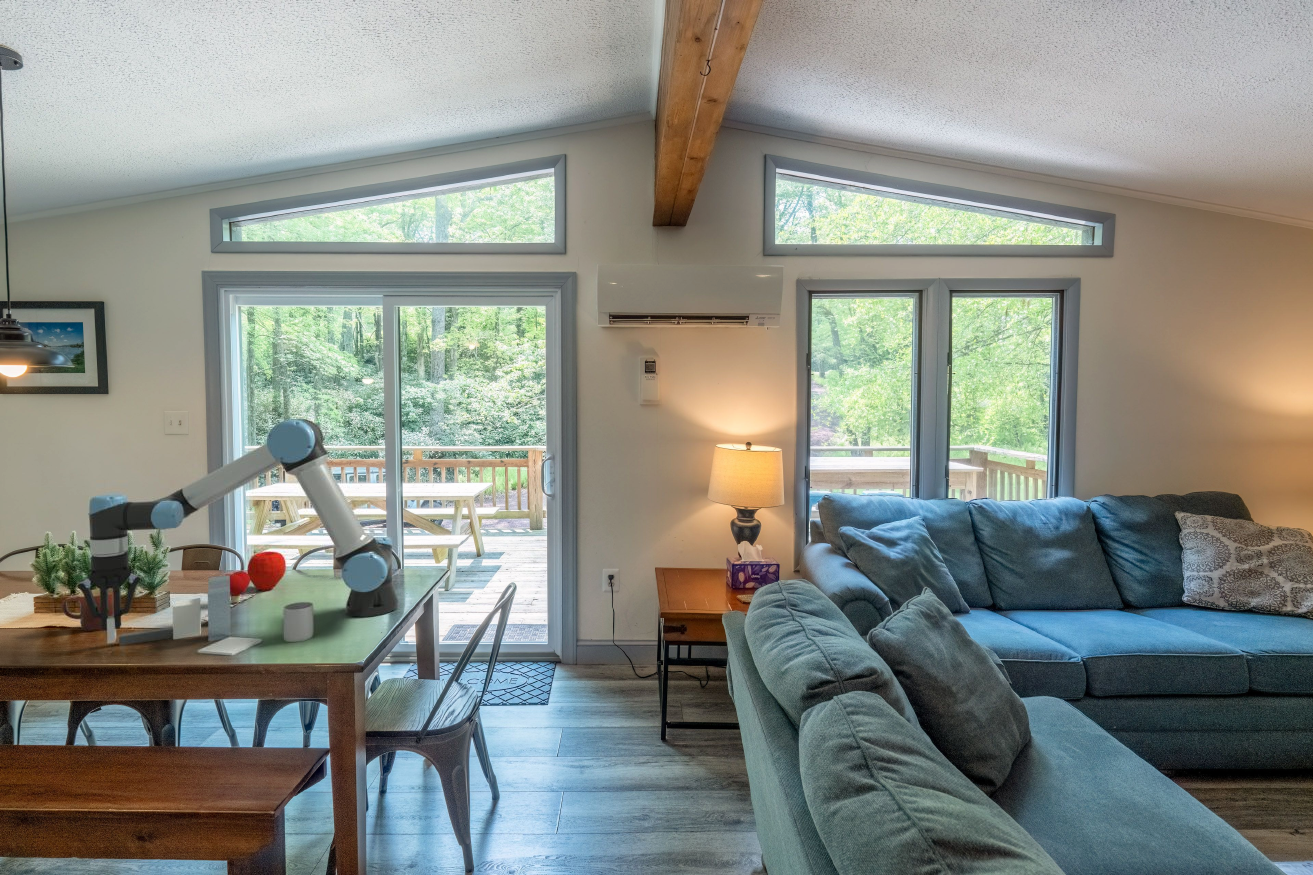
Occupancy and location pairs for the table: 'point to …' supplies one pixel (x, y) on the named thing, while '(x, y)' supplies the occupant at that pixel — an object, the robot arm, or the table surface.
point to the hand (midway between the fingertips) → (111, 641)
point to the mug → (85, 616)
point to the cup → (298, 621)
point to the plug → (183, 625)
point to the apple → (266, 569)
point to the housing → (219, 608)
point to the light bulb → (238, 584)
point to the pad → (230, 646)
